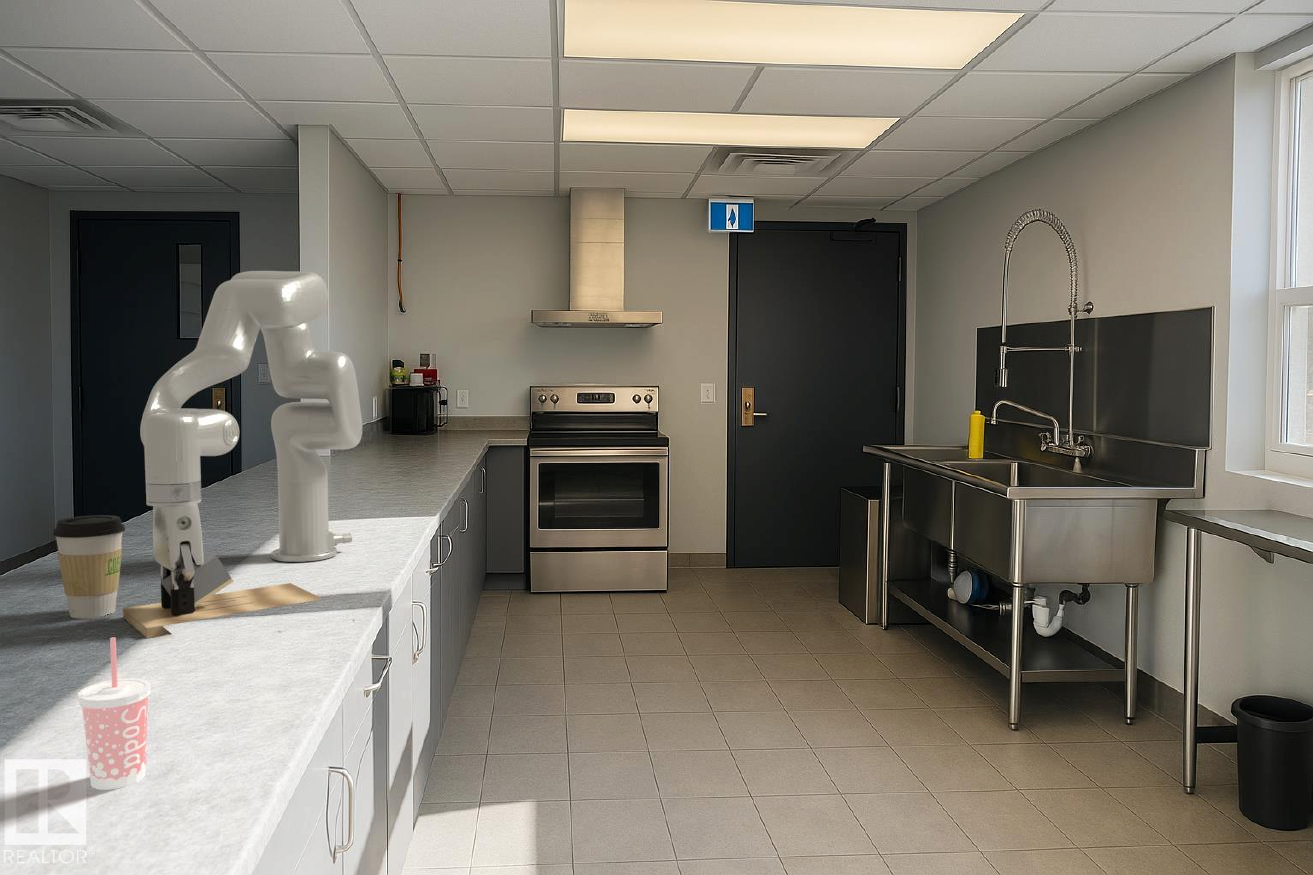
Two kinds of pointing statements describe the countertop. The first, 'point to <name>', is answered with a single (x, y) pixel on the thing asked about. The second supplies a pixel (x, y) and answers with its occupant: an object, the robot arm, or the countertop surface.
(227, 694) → the countertop surface
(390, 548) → the countertop surface
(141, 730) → the beverage cup
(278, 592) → the board
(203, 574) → the block
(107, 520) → the coffee cup
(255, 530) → the countertop surface
